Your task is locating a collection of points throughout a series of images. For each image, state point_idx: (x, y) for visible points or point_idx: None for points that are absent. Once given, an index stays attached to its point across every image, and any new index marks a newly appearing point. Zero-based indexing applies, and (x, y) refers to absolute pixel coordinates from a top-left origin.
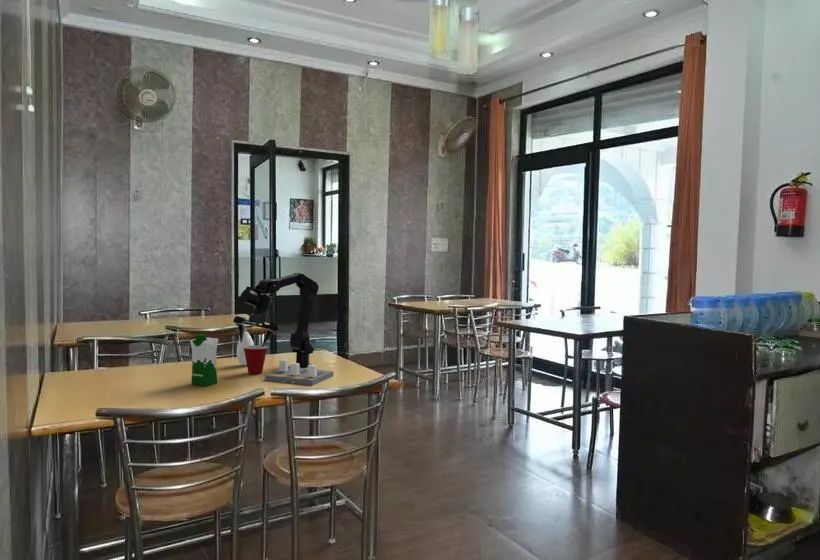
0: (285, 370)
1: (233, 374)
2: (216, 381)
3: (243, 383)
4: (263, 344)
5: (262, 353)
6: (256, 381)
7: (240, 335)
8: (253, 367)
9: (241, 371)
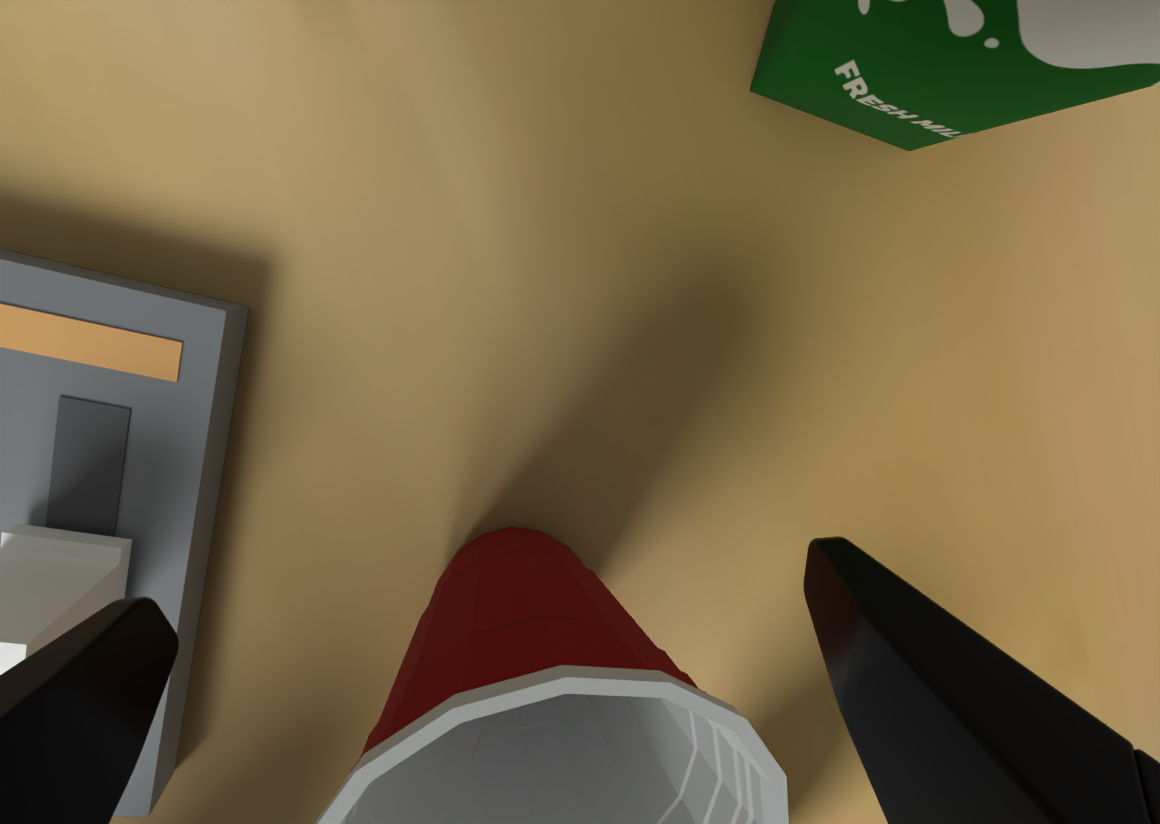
0: (3, 549)
1: (711, 491)
2: (762, 57)
3: (446, 93)
4: (52, 647)
5: (375, 734)
6: (330, 221)
7: (1021, 684)
8: (506, 554)
9: (677, 624)
